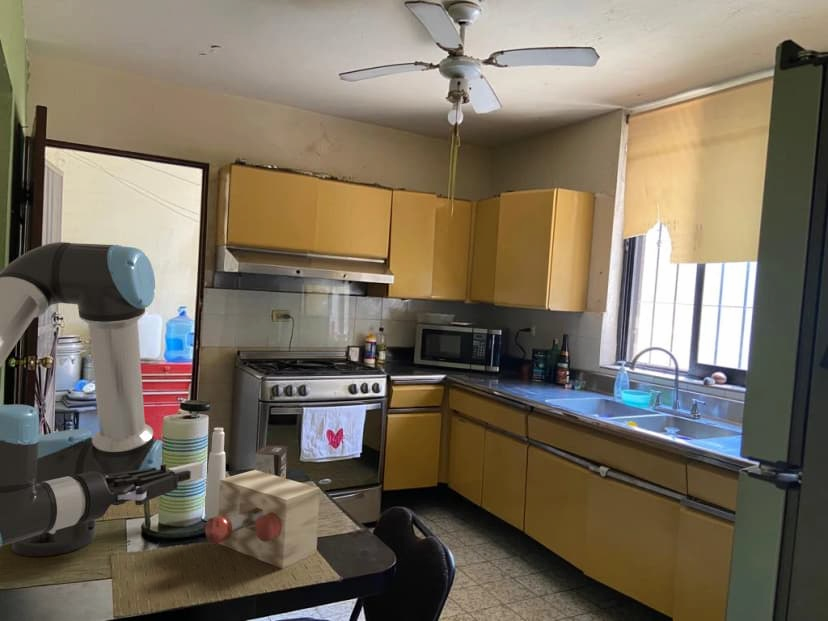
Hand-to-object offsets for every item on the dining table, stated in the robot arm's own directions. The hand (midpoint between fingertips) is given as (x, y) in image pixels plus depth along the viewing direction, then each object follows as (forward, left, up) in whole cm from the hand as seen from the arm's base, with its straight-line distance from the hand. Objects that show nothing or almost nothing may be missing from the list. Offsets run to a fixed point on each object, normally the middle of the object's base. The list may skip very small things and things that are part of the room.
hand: (199, 469), depth 112 cm
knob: (0, +10, -15) cm, 19 cm away
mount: (0, +17, -21) cm, 27 cm away
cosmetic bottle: (-22, +23, -21) cm, 38 cm away
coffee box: (-15, +34, -21) cm, 42 cm away
